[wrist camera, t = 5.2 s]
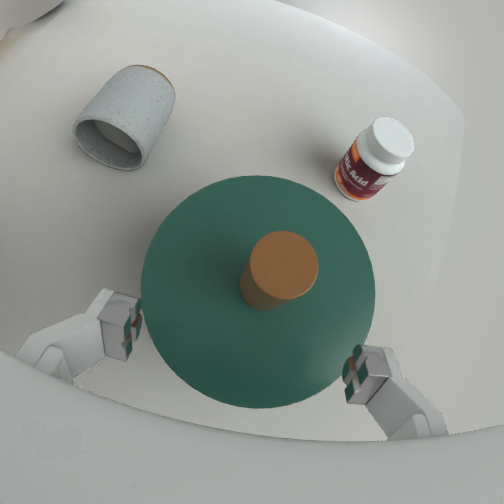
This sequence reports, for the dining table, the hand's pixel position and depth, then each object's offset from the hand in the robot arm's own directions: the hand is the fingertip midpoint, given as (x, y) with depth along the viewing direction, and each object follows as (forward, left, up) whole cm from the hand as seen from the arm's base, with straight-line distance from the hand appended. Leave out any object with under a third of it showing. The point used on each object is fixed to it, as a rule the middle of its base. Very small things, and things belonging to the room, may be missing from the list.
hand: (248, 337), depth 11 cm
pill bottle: (+17, -9, -14) cm, 24 cm away
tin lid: (+3, -1, -5) cm, 6 cm away
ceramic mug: (+16, +15, -14) cm, 26 cm away
